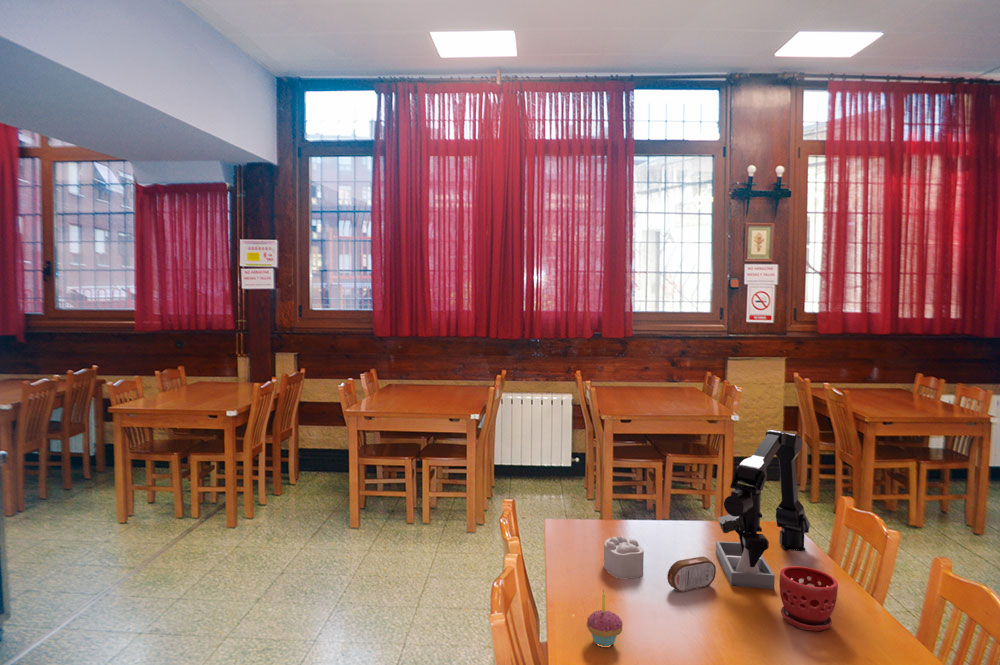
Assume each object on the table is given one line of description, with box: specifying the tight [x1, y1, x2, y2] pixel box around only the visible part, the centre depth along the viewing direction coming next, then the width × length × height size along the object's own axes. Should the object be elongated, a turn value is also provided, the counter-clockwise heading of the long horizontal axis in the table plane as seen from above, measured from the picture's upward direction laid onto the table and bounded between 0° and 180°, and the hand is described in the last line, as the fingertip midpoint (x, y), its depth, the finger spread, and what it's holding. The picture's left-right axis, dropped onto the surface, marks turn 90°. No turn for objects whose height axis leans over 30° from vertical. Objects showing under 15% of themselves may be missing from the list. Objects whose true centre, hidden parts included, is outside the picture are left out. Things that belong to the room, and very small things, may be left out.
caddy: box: [715, 540, 776, 590], centre depth 187 cm, size 12×22×4 cm, turn 172°
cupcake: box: [586, 589, 623, 646], centre depth 149 cm, size 9×8×12 cm
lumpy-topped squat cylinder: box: [603, 535, 645, 580], centre depth 188 cm, size 10×13×9 cm
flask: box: [736, 547, 760, 573], centre depth 182 cm, size 7×7×10 cm
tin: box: [666, 556, 717, 593], centre depth 176 cm, size 15×3×8 cm, turn 111°
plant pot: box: [779, 565, 839, 632], centre depth 158 cm, size 13×13×12 cm
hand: (748, 559), depth 182 cm, fingers open, 9 cm apart
